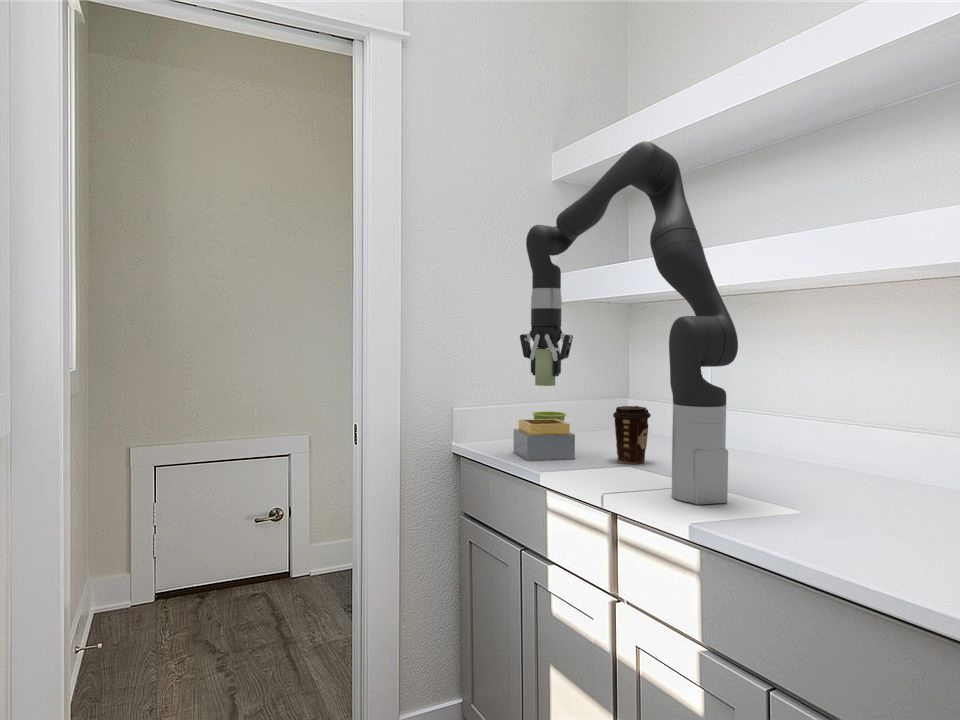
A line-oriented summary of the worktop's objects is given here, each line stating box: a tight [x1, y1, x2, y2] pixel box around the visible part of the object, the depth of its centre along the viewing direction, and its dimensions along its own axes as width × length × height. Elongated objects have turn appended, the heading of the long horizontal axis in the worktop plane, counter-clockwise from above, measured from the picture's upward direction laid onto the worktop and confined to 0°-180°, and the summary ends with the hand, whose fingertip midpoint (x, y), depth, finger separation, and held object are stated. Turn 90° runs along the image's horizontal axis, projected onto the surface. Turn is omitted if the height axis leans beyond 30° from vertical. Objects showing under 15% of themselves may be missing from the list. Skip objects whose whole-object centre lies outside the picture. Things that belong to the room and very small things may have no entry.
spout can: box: [534, 348, 556, 387], centre depth 159 cm, size 5×5×10 cm
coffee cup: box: [612, 405, 652, 465], centre depth 152 cm, size 9×8×13 cm
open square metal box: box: [513, 418, 576, 462], centre depth 159 cm, size 12×12×8 cm
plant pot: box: [531, 410, 567, 422], centre depth 176 cm, size 9×9×9 cm
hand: (545, 375), depth 159 cm, fingers closed on spout can, 5 cm apart
